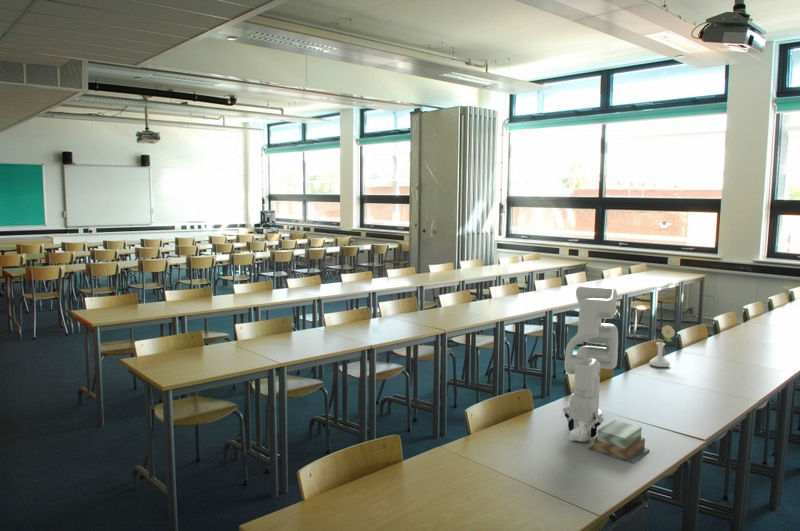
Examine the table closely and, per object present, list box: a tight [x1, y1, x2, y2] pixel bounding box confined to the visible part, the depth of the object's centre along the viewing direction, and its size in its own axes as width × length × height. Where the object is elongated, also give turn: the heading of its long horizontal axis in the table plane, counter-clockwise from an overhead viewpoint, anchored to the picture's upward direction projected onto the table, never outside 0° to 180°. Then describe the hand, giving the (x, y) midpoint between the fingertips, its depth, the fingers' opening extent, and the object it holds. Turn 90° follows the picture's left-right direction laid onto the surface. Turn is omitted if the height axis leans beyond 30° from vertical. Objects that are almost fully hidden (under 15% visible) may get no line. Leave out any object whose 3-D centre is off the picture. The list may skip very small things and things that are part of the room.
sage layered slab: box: [588, 419, 650, 464], centre depth 230 cm, size 18×15×9 cm
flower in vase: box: [649, 324, 676, 368], centre depth 346 cm, size 13×11×25 cm
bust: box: [568, 420, 592, 443], centre depth 239 cm, size 12×8×11 cm
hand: (582, 433), depth 239 cm, fingers open, 9 cm apart
